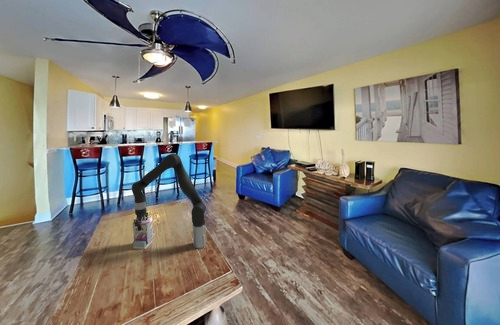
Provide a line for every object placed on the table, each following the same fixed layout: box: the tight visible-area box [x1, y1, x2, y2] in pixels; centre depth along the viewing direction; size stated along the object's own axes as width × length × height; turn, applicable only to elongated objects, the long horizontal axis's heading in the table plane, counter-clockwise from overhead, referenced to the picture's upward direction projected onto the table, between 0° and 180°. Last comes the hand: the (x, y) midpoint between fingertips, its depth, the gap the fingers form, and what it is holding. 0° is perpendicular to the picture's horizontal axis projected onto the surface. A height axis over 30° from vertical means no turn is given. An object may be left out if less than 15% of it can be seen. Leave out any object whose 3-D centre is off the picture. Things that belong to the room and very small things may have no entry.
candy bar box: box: [132, 220, 152, 244], centre depth 144 cm, size 11×5×16 cm, turn 84°
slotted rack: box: [132, 235, 153, 250], centre depth 145 cm, size 9×9×5 cm
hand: (142, 228), depth 143 cm, fingers closed on candy bar box, 5 cm apart
